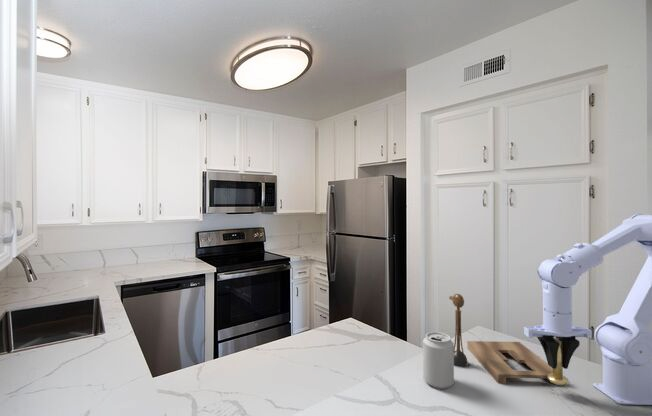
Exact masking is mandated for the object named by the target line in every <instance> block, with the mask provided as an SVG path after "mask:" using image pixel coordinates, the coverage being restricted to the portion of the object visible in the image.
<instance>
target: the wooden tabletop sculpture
mask: <svg viewBox="0 0 652 416" xmlns="http://www.w3.org/2000/svg"><path fill="white" fill-rule="evenodd" d="M448 298H449V300H450V301H452V304H453V306H454V307H456V310H455V312H454V314H455V327H454V328H455V330H454V331H455V334H454V342H453V343H454V367H457V368H466V367H467V366H468V358H467V355H466V354H465V353H464V346H463V339H462V310H461V308H463V306H465V299H464V297H463V295H462V294H460V293H455V294H453V296H452V295H450V296H449V297H448Z"/></svg>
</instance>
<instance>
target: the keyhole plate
mask: <svg viewBox="0 0 652 416" xmlns="http://www.w3.org/2000/svg"><path fill="white" fill-rule="evenodd" d="M466 343H467V346H466V347H467V349H468V351H469V352H470V353H471V355H473V356H474V358H475V359H476V360H477V361H478V362H479V363H480V365H482V366H483V368H484V369H485V370H486V371H487V372H488V373H489V375H490V376H491V377H492V378H493V379H494V380H495V382H497V384H507V378H508V379H509V378H510V379H512V378H513V379H548V374H550V373H553V368H552V367H550V366H549V365H548V362H546V361H544V360H543V359H542V358H541V357H540V356H538V355H537V354H535V353H534V352H533V351H532V350H531V349H529V348H528V347H526V345H524V344H523V343H521V342H520V341H493V340H492V341H491V340H490V341H484V340H467V342H466ZM503 353H505V354H508V355H509V356H511V357H512V358H513V359H514V360H515V361H516V362H518V363H520V364H526V365H527V367H528V368H530V369H531V370H514V369H513V368H512V367H511V366H510V365H509V364H508V363H509V360H508V358H507V357H506V356H505V355H503ZM554 385H557V384H554ZM557 386H558V385H557Z"/></svg>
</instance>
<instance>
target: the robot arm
mask: <svg viewBox="0 0 652 416" xmlns="http://www.w3.org/2000/svg"><path fill="white" fill-rule="evenodd" d="M633 242H636V243H637V245H638V246H640V247H641V249H643V250H644V251H645V252H646V255H647V258H646V261H645V262H644V264H643V265H642V268H641V270H640V272H639V273H638V275H637V278H636V279H635V281H634V284H633V285H632V286H631V289H630V290H629V293H628V295H627V296H626V298H625V301H624V302H623V305H622V306H621V308H620V310H619V312H618V313H615V314H612V315H609V316H606V318H605V319H604V321H603V323H601V324H600V325H597V327H596V328H595V331H594V337H593V335H592V334H593V333H592V332H593V331H592V329H589V328H588V327H586V326H573V286H575V285H576V284H577V283H578V281H579V279H580V277H581V276H582V275H583V274H585V273H586V272H589V271H591V270H592V269H594V268H596V267H598V266H599V265H601V264H602V263H603V262H604V256H606V255H608V254H610V253H613V252H615V251H617V250H618V249H620V248H623V247H624V246H627V245H629V244H631V243H633ZM536 274H537V276H538V278H539V279H540V281H541V286H542V324H539V325H538V324H537V325H532V326H524V327H523V334H524V336H525V337H527V338H529V339H533V338H537V339H538V341H539V343H540V345H541V347H542V349H543V352H544V354H545V358H546V361H547V362H546V363H547V364H548V365H549V366H550V367H552V368H553V369H556V367H557V352H558V348H559V345H560V343H558V342H557V341H555V339H554V338H559V339H561V340H563V370H564V369H565V370H567V369H568V368H569V365H570V362H571V359H572V356H573V355H574V353H575V351H576V350H577V349H578V348H579V347H580V343H581V342H580V341H579V339H576V338H586V339H592V338H594V340H595V342H596V343H597V344H598V346H600V352H602V382H600V383H599V382H593V383H592V386H593V387H595V388H596V389H598V390H599V391H601V392H602V393H604V394H605V395H606V396H607V397H609V398H610V399H612V400H613V401H615V403H617V404H619V405H637V406H639V405H641V406H644V405H645V406H652V362H651V360H652V329H651V328H650V325H651V323H652V214H644V213H637V214H634V215H632V216H630V217H629V218H626V219H623V221H622V223H621V224H620V225H619V226H617V227H615V228H614V229H612V230H611V231H610V232H608V233H606V234H605V235H603V236H602V237H600V238H598V239H597V240H595V241H594V242H593V243H588V242H582V243H579V242H577V243H575V244H573V248H571V249H569V250H568V251H566V252H564V253H562V254H561V253H559V254H558V255H556V257H555V258H554V259H553V258H552V259H551V258H547V259H545V260H544V261H542V262H541V263H540V265H539V267H538V268H537V269H536Z"/></svg>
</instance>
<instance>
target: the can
mask: <svg viewBox="0 0 652 416" xmlns="http://www.w3.org/2000/svg"><path fill="white" fill-rule="evenodd" d="M454 343H455V342H453V341H452V337H451V336H450V335H449V334H447V333H444V332H440V331H430V332H427V333H426V334H425V337H424V338H423V340H422V348H423V349H422V353H423V354H422V355H423V357H422V365H423V367H422V369H423V370H422V371H423V372H422V373H423V374H422V376H423V377H422V378H423V379H424V381H425V382H426V383H427V384H428V385H429V386H431V387H433V388H436V389H448V388H450V387H452V386H453V385H454V383H455V366H454Z"/></svg>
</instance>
